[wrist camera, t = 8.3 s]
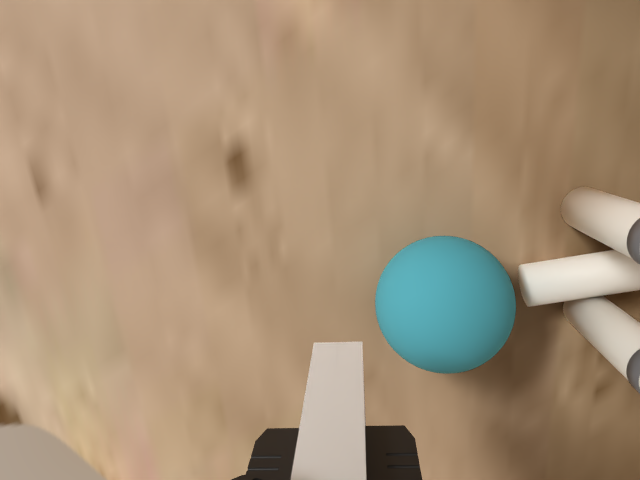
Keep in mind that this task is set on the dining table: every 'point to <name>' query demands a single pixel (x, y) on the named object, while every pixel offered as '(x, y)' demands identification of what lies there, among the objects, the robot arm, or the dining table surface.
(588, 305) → the pin
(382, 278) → the teal ball
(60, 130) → the dining table surface
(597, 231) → the pin
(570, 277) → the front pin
